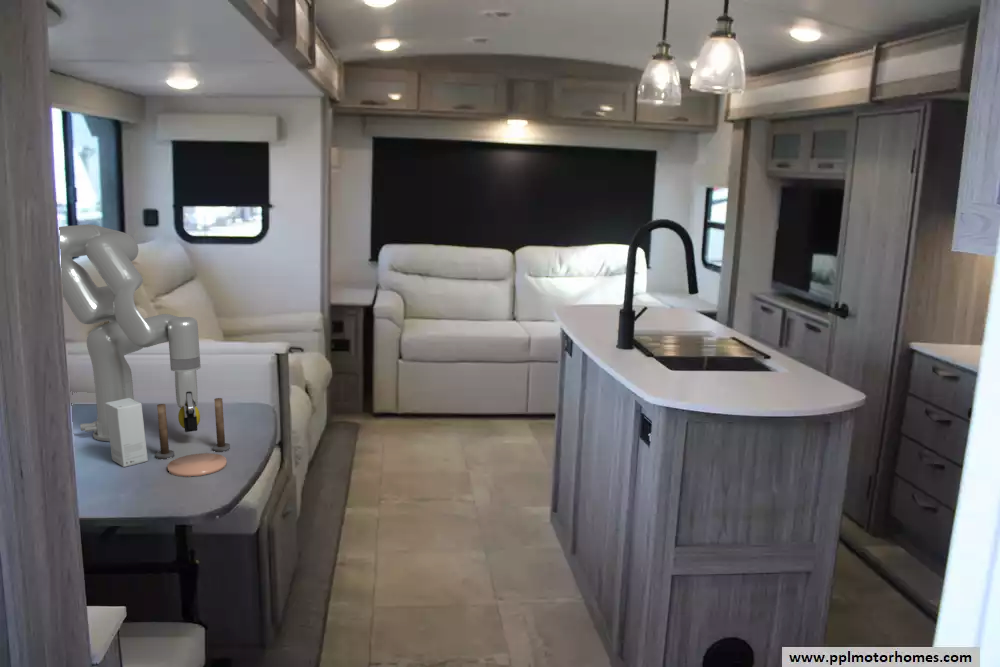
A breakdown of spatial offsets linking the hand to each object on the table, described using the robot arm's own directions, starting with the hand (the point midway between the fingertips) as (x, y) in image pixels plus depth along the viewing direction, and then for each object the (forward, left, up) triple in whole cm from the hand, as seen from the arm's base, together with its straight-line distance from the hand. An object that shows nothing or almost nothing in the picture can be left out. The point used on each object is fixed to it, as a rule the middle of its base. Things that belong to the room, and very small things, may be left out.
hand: (190, 427), depth 224 cm
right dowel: (+7, -9, -4) cm, 12 cm away
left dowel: (-7, -9, -4) cm, 12 cm away
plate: (0, -20, -4) cm, 20 cm away
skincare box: (-16, -8, -5) cm, 18 cm away
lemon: (0, 0, -1) cm, 1 cm away
